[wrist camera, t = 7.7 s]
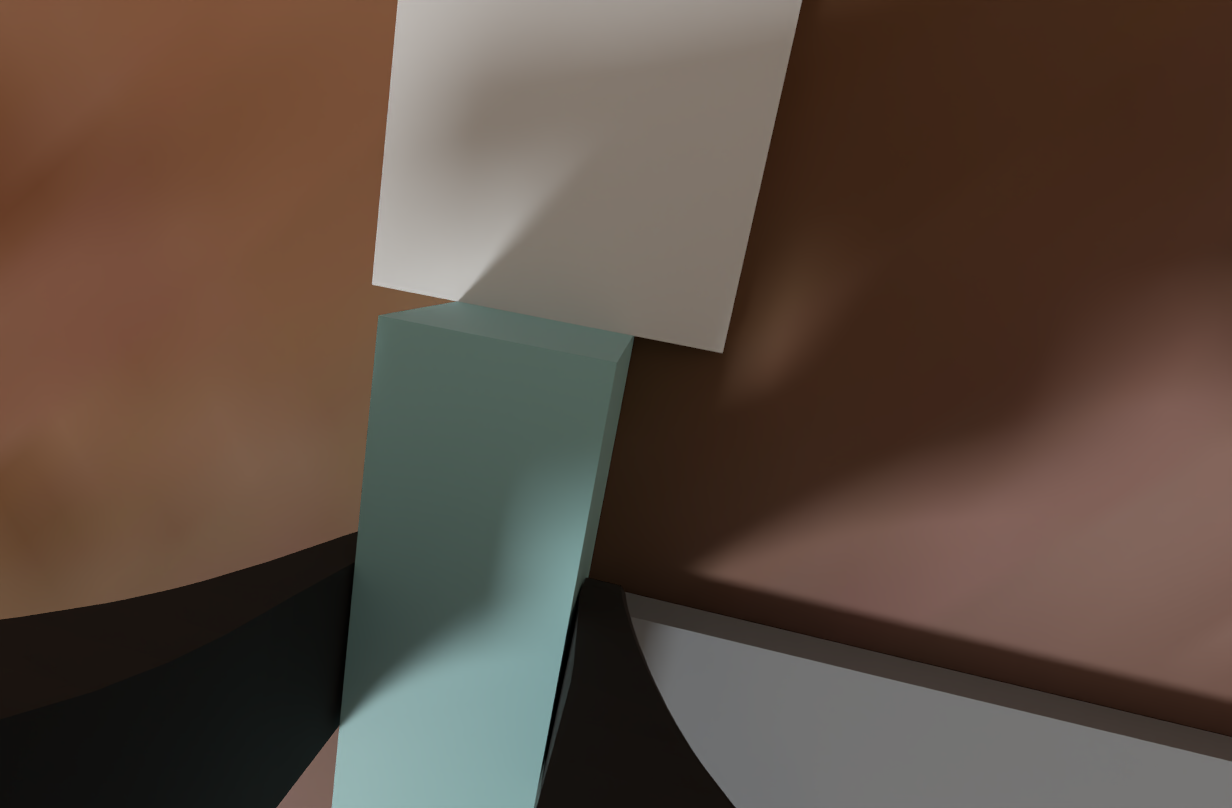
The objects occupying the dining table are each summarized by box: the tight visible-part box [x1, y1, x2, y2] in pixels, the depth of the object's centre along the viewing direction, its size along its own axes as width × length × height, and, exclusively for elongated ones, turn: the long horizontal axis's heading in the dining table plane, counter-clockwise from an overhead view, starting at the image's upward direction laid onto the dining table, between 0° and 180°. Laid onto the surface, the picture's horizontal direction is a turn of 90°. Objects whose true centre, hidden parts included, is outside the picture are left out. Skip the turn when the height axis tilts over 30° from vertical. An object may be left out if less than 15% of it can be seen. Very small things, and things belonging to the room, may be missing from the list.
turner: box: [332, 0, 802, 808], centre depth 10 cm, size 16×6×4 cm, turn 170°
